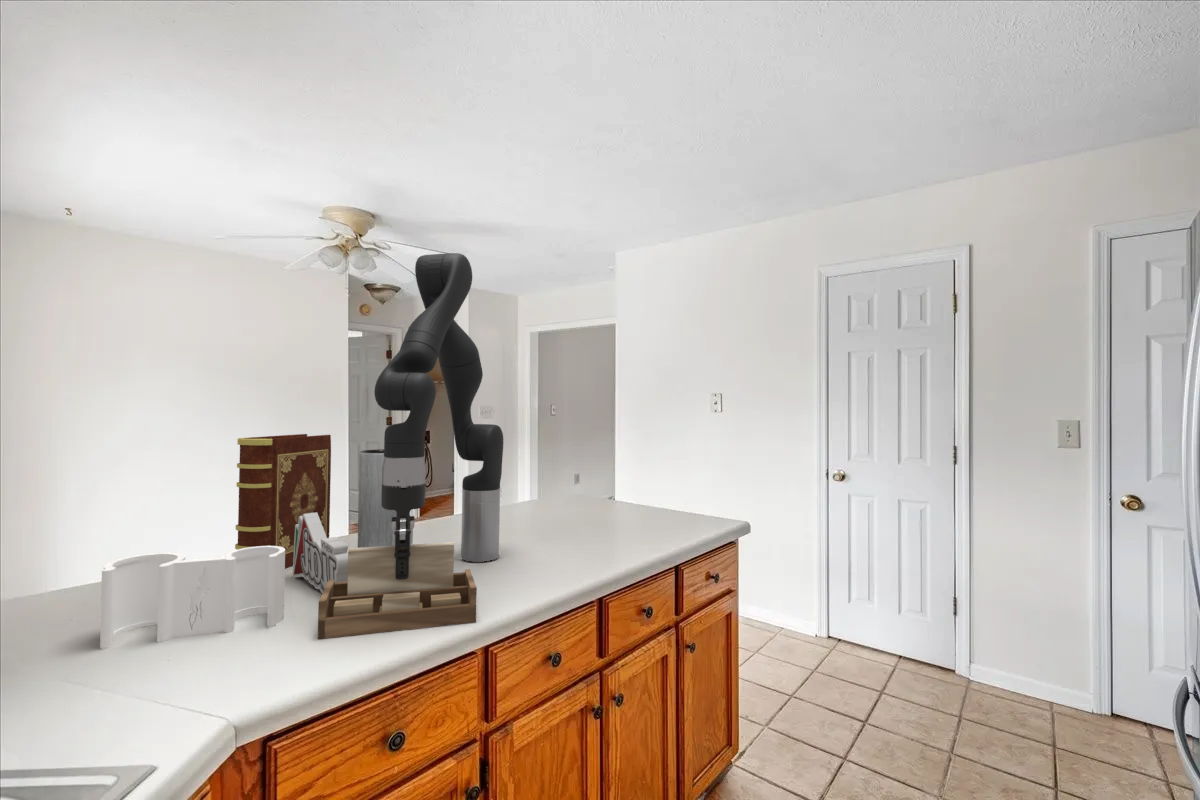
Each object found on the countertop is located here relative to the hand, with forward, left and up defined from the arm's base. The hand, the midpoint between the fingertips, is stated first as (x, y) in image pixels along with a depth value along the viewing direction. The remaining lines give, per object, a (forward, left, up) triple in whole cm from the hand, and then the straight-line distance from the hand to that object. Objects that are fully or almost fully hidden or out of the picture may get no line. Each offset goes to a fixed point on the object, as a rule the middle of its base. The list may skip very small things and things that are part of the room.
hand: (402, 575), depth 102 cm
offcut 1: (+5, -8, -7) cm, 11 cm away
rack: (+3, 0, -7) cm, 7 cm away
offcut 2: (+5, +7, -7) cm, 11 cm away
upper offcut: (+5, 0, -4) cm, 6 cm away
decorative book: (-41, -27, -7) cm, 50 cm away
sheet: (0, 0, -7) cm, 7 cm away
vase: (-31, -5, -7) cm, 32 cm away
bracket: (-3, -32, -7) cm, 33 cm away
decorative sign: (-19, -16, -7) cm, 26 cm away
